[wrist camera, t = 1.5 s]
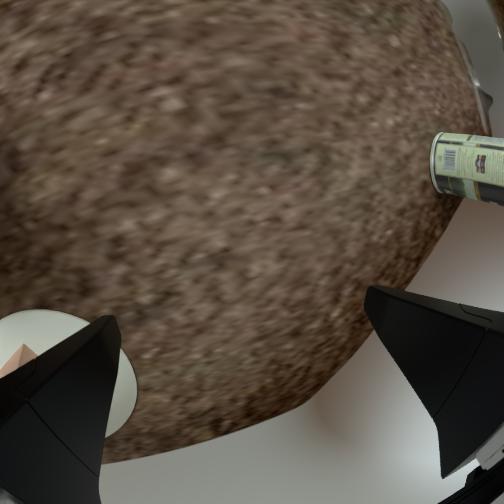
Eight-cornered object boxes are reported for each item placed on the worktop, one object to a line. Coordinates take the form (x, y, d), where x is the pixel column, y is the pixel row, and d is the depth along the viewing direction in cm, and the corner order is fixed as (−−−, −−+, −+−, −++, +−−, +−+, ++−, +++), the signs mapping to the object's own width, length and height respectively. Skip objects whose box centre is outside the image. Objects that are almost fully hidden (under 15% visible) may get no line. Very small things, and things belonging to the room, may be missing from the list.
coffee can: (455, 181, 45) (523, 196, 33) (432, 202, 42) (510, 221, 30) (449, 126, 41) (522, 134, 29) (425, 138, 37) (511, 148, 25)
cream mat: (10, 443, 19) (10, 445, 19) (-43, 310, 15) (-45, 312, 15) (144, 435, 27) (145, 437, 27) (129, 304, 23) (129, 306, 23)
